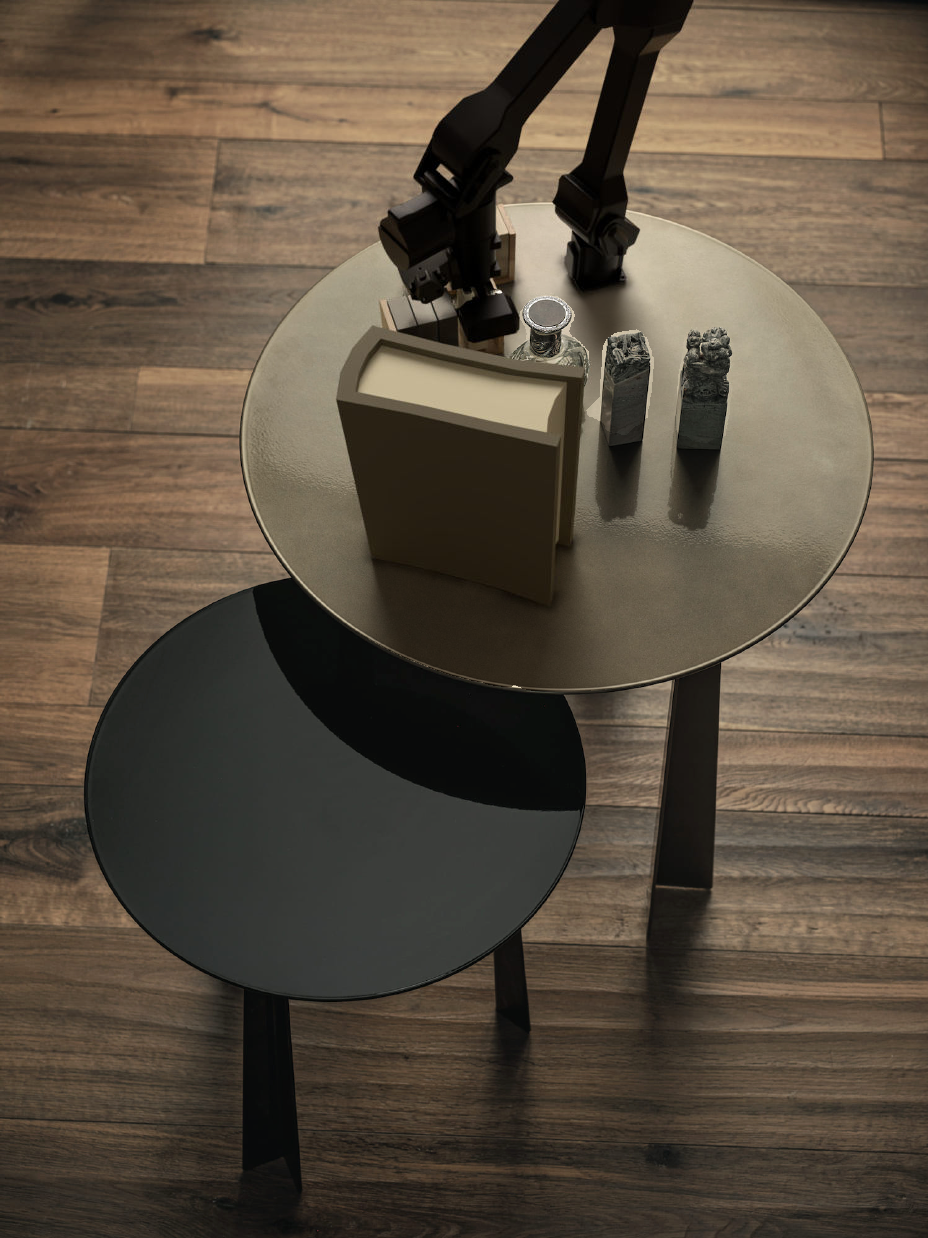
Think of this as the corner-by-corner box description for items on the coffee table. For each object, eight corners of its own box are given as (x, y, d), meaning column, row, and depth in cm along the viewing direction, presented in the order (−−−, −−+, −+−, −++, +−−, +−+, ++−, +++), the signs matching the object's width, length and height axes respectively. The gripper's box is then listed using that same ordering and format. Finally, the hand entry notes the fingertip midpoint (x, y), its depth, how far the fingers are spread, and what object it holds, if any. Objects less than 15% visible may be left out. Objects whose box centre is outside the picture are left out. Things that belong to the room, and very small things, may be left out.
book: (365, 558, 123) (326, 393, 99) (394, 493, 127) (363, 319, 103) (549, 606, 119) (556, 446, 94) (572, 537, 123) (585, 367, 99)
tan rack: (490, 320, 139) (491, 274, 132) (504, 352, 136) (504, 306, 130) (384, 345, 137) (378, 299, 130) (395, 378, 135) (390, 333, 128)
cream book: (475, 319, 138) (475, 277, 131) (487, 348, 135) (487, 306, 129) (457, 323, 137) (456, 281, 131) (468, 352, 135) (467, 311, 129)
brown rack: (501, 251, 145) (502, 203, 138) (514, 280, 142) (516, 233, 135) (407, 272, 143) (403, 225, 136) (418, 302, 141) (414, 256, 134)
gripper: (379, 185, 124) (390, 287, 138) (422, 300, 116) (429, 397, 129) (472, 164, 126) (474, 267, 139) (522, 277, 117) (519, 375, 131)
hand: (472, 325), depth 135 cm, fingers closed on cream book, 5 cm apart
